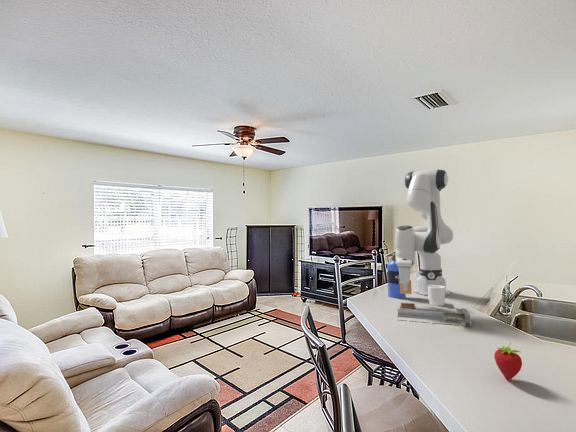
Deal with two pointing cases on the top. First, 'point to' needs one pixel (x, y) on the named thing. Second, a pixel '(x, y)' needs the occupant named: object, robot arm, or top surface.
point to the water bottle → (394, 279)
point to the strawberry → (508, 362)
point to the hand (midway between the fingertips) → (405, 288)
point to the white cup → (436, 295)
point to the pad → (408, 306)
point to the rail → (437, 316)
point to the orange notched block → (408, 288)
